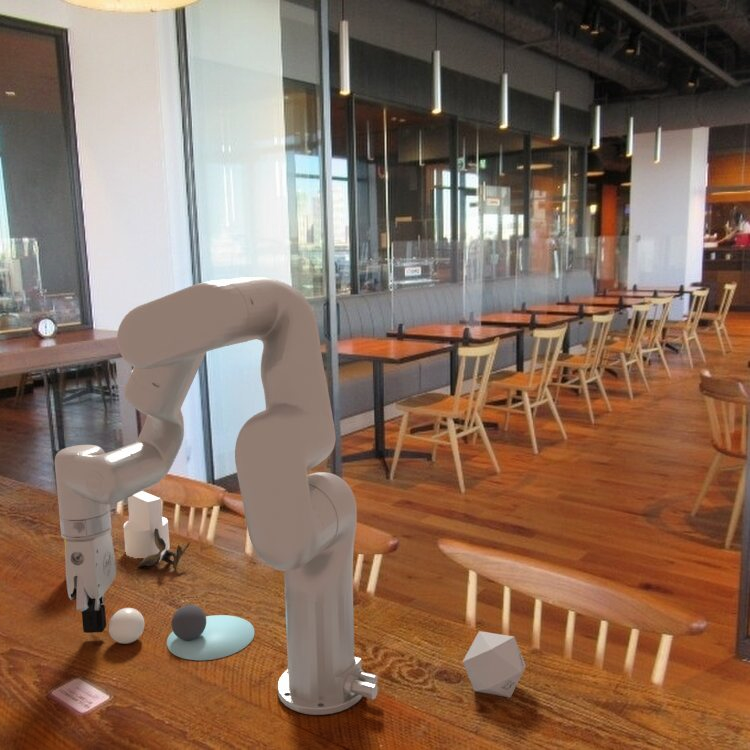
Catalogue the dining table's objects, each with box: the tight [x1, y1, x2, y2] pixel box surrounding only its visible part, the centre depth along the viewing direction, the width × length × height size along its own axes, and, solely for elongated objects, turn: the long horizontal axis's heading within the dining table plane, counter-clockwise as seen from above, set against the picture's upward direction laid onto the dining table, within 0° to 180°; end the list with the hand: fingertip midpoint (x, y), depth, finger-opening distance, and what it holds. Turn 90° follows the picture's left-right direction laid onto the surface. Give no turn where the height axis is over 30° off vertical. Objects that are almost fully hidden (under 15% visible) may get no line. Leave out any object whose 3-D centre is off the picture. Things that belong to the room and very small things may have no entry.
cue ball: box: [108, 607, 145, 645], centre depth 119 cm, size 6×6×6 cm
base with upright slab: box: [123, 490, 171, 559], centre depth 155 cm, size 9×9×12 cm
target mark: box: [166, 614, 256, 661], centre depth 120 cm, size 14×14×1 cm
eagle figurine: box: [137, 528, 191, 572], centre depth 148 cm, size 8×8×10 cm
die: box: [462, 630, 527, 699], centre depth 104 cm, size 8×9×10 cm
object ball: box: [171, 604, 206, 640], centre depth 120 cm, size 6×6×6 cm
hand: (95, 629), depth 120 cm, fingers closed
